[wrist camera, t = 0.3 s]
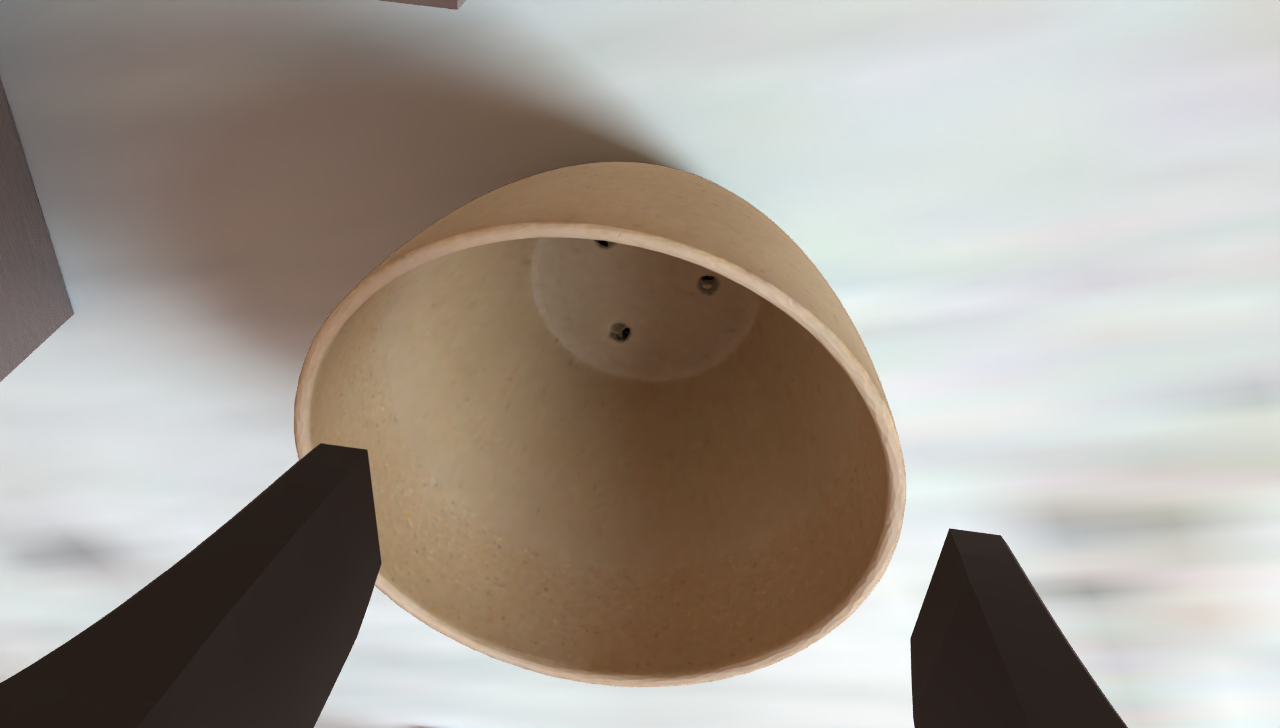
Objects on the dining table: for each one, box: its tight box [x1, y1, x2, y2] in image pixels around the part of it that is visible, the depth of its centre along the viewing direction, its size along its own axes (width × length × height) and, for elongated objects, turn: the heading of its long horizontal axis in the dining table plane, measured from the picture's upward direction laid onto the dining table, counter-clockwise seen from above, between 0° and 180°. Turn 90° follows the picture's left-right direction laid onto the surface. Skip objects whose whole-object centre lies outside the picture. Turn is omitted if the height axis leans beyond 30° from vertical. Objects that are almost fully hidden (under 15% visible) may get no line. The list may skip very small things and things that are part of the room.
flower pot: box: [294, 162, 906, 687], centre depth 19 cm, size 10×10×7 cm
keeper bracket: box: [0, 0, 466, 382], centre depth 20 cm, size 11×12×4 cm
